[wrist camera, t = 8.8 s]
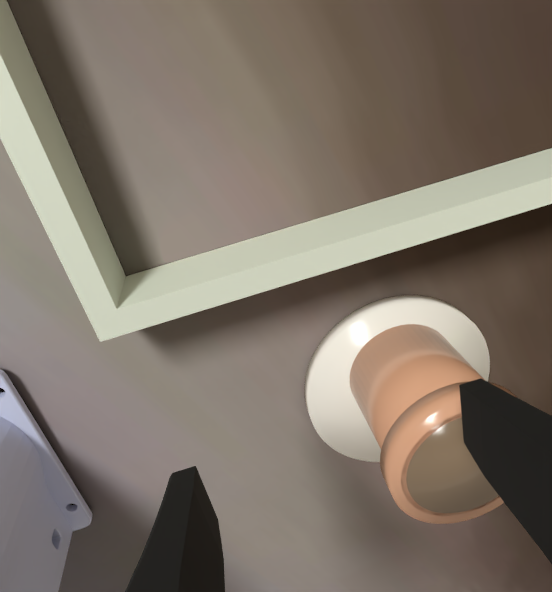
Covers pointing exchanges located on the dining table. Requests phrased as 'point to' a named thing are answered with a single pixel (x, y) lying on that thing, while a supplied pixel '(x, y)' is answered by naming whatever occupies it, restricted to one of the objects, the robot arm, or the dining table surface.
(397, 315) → the saucer
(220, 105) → the dining table surface
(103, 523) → the dining table surface
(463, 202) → the rectangular frame
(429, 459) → the terracotta pot
